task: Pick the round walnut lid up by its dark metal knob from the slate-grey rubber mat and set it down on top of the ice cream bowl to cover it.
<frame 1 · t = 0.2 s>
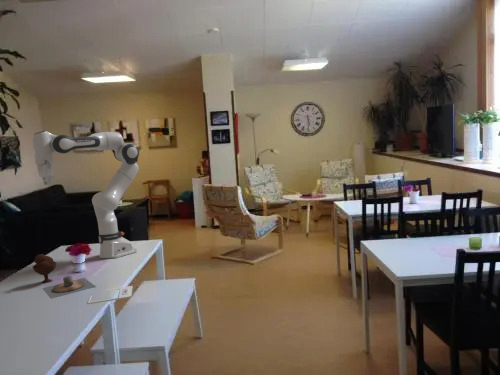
hand: (47, 185, 245), 48 cm above the table, tool pointing down, fingers open, 8 cm apart
ice cream bowl: (47, 282, 223), on the table
photo frame: (111, 296, 196), on the table
rubber mat: (69, 288, 210), on the table
walnut lid: (68, 287, 210), resting on rubber mat
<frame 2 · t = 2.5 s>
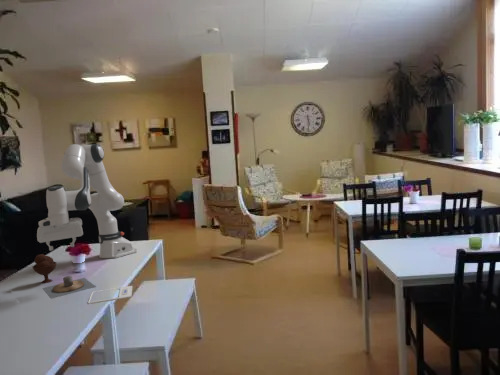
hand: (62, 248, 209), 20 cm above the table, tool pointing down, fingers open, 8 cm apart
nothing on the table moved.
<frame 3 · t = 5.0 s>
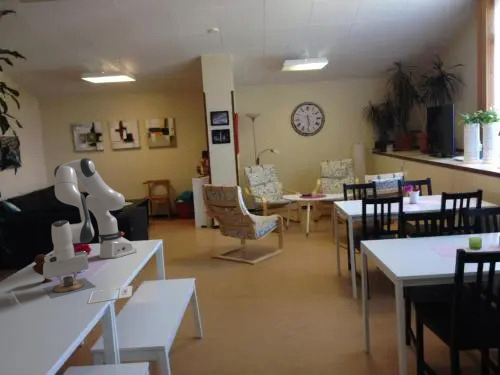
hand: (68, 282, 210), 3 cm above the table, tool pointing down, fingers closed on walnut lid, 4 cm apart
walnut lid: (68, 287, 210), resting on rubber mat, touching gripper
everything else where it was.
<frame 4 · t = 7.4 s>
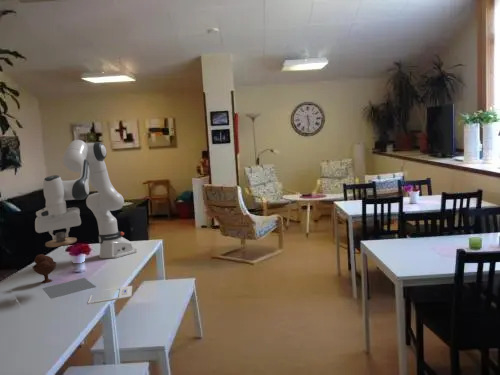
hand: (60, 238, 209), 25 cm above the table, tool pointing down, fingers closed on walnut lid, 4 cm apart
walnut lid: (61, 243, 209), point 22 cm above the table, touching gripper
everything else where it was.
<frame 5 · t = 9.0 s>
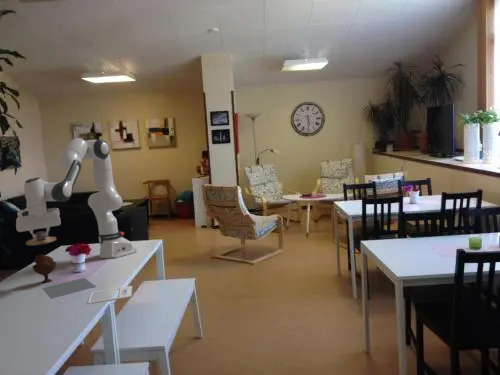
hand: (40, 237, 220), 24 cm above the table, tool pointing down, fingers closed on walnut lid, 4 cm apart
walnut lid: (41, 241, 220), point 21 cm above the table, touching gripper
everything else where it was.
when the fingers open (19 cm above the table, at t = 10.2 s): walnut lid drops 2 cm, resting on ice cream bowl.
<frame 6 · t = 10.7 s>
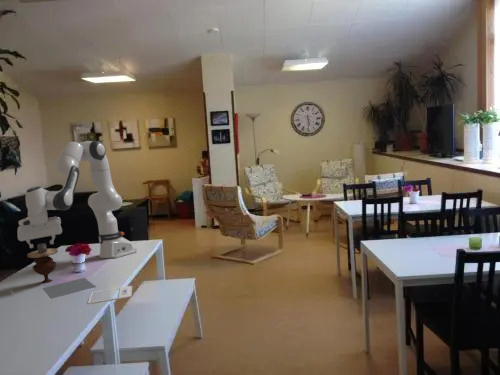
hand: (42, 246, 221), 19 cm above the table, tool pointing down, fingers open, 8 cm apart
ice cream bowl: (47, 282, 223), on the table, touching walnut lid
walnut lid: (42, 254, 221), point 15 cm above the table, touching ice cream bowl
everything else where it was.
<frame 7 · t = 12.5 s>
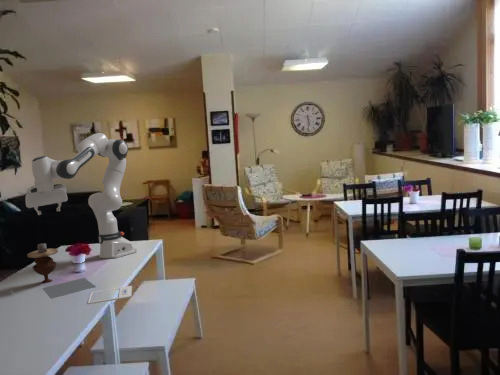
hand: (49, 212, 231), 34 cm above the table, tool pointing down, fingers open, 8 cm apart
nothing on the table moved.
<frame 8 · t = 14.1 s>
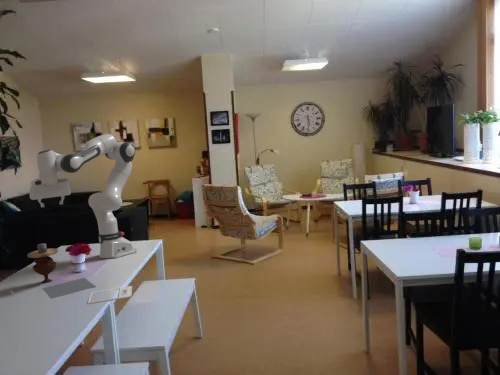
hand: (52, 205, 236), 37 cm above the table, tool pointing down, fingers open, 8 cm apart
nothing on the table moved.
at the end: walnut lid 0.1 cm off-centre on the ice cream bowl, point 15.2 cm above the ice cream bowl's base; walnut lid tilted 0°; ice cream bowl tilted 0° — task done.
